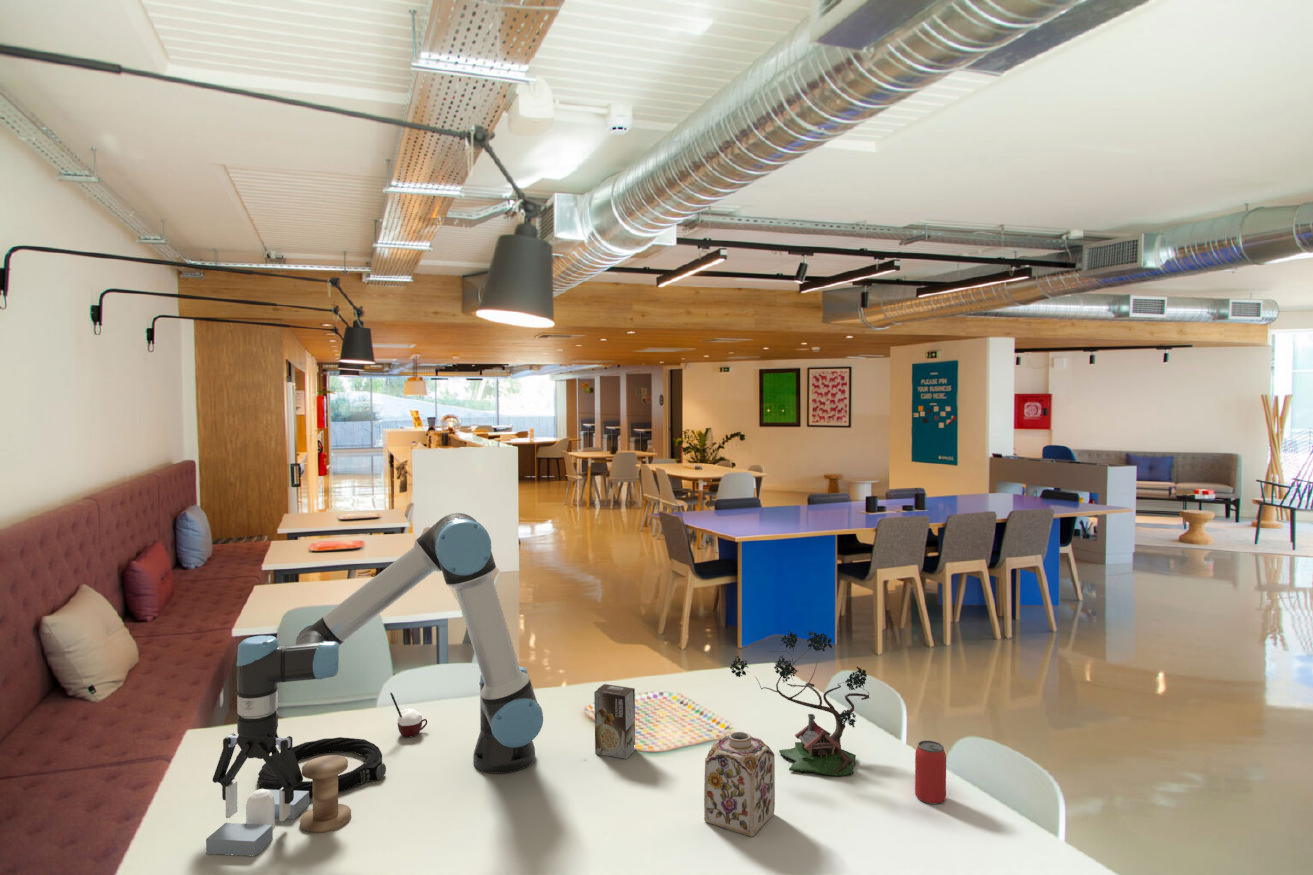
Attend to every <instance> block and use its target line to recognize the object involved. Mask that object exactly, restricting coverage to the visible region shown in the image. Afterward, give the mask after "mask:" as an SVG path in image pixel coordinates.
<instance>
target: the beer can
mask: <svg viewBox="0 0 1313 875" xmlns="http://www.w3.org/2000/svg"><path fill="white" fill-rule="evenodd" d="M914 756H915V758H914V759H915V762H914V764H915V766H914V767H915V770H914V795H915V797H916V798H917V799H918V800H919V801H921V802H923V803H926V804H931V805H939V804H943V803H944V802H945V801H946V799H947V755H946V751H945V748H944V745H943V744H941V743H940V742H937V741H934V740H921V741H918V743H917V746H916V749H915V753H914Z"/></svg>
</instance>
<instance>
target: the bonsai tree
mask: <svg viewBox="0 0 1313 875" xmlns="http://www.w3.org/2000/svg"><path fill="white" fill-rule="evenodd" d="M807 634H808V635H807V637H808V638H807V639H806V642H809V644H808V645H807V647H808V650H810V649H811V648H813V650H815V651H816V652H820V651H821V650H822V652H826V650H825V649H826V647H829V648H830V649H833V645H832V644H831V643H832V642H833V641H832V638H830V637H828V635H827V634H825V632H822V633H820V634H817V632H815V631H811V630H809V631H808V632H807ZM810 636H811V637H810ZM780 641H781V642H782V643H780V644H779V646H781V645H783V644H785V648H789V650H791V649H792V651H794V648H795V647H796V644H797V642H798V634H797V633H795V634H794V633H793V632H792V631H790V630H788V633H787V635H783V637H781V640H780ZM810 642H811V643H810ZM808 650H806V651H805V652H804V653H803V654H802V655H801V656H800V658H802V657H803V656H804V655H805V654H806V653H807V652H808ZM769 652H773V653H774V652H775V653H776V652H778V651H777V650H776V651H775V650H774V651H772V650H769ZM781 652H785V653H786V651H784V650H783V651H782V650H781ZM788 654H790V656H791V660H789V659H788V660H786V659H785V658H784V655H780V656H779V658H778V660H777V661H776V663H775V666H774V667H773V668H774V669H775V673H776V674H779V678H778V680H777V682H776V685H775V687H776V690H775V689H772V688H771V687H766V686H765V687H762V686H761V684H760V681H759V680H758V678H757V677H755V679H756V680H757V682H758V685H759V687H760V689H761V690H763V689H767V690H769V691H772V692H775V693H778V694H779V695H780V696H781V697H783V698H784V699H785V700H787V701H789V702H792V703H794V704H798V705H800V706H804V707H807V708H812V709H815V710H819V711H824V712H828V713H830V714H832V715H833V716H834V718H835V725H836V726H835V730H834V731H833V733H830V732H829V731H827V730H826V729H824V728H822V727H821V726H820V725H818V724H817V723H816V721H815V719H816V716H815V714H814V713H808V714H807V717H808V722H807V723H808V724H807V725H806V726H804V728H803V729H801V730H800V731H798V732H797V733H796V734H794V737H795V738H796V739H797V740H800V742H799V741H797V742H796V741H795V742H794V747H792V748H786V749H785V748H784V749H779V750H778V752H779V754H780V755H781V756H783V757H786V758H788V759H790V760H791V761H794V763H792V764H791V766H790V767H789V769H788V771H789V772H790V771H792V772H811V773H814V772H815V773H817V774H821V775H827V776H834V777H843V776H850V775H853V774H854V770H853V768H854V767H855V766H856V759H857V758H856V756H857V755H856V754H854V753H852V752H850V751H848V750H845V749H842V745H841V738H842V736H843V732H844V730H845V728H846V726H847V725H849V726H851V727H852V729H855V728H856V726H855V724H856V722H857V718H856V716H857V715H856V714H855V713H854V711H855V704H854V703H853V702H852V701H851V700H850V698H849V697H856V696H857V697H861V698H860V699H861V701H863V700H867V699H870V692H869V691H868V690H866V689H865V688H864V687H865V686H864V685H866V681H867V677H868V674H867V673H866V672H867V670H865V669H862V668H861V667H859V666H856V669H858V670H857V671H852V673H850V675H849V676H848V678H846V680H844V681H843V682H839V683H838V684H837V686H836V687H833V688H830V689H828V690H826V691H825V692H824V693H823V695H821V694H820V693H819V691H818V690H817V689H815V688H814V687H815V684H814V683H811V681H812V679H813V678H814V675H815V672H816V669H817V665H818V662H819V660H817V661H816V665H815V669H814V672H813V673H812V676H811V678H810V679H809V681H808V682H806V683H805V685H802V684H801V685H800V684H791V683H790V684H789V683H787V682H788V680H790V679H792V680H794V679H793V677H795V675H796V674H797V672H799V670H797V669H796V668H795V666H794V664H795V663H796V662H797V661H798V660H799V658H798V659H796V660H795V661H793V660H794V659H793V656H792V655H791V653H790V652H788ZM819 658H820V656H818V659H819ZM729 668H730V669H731V674H734V675H735V677H737V678H741V677H743V676H747V672H748V673H749V671H748V670H744V669H745V668H747V669H749V666H748V660H746V659H744V660H741V658H740V655H737V656H735V659H734V660H733V661H732V663H731V664H730V667H729ZM799 673H800V672H799ZM792 676H793V677H792ZM781 679H782V680H781ZM780 681H782V683H783V684H784V683H786V685H788V686H790V687H792V688H794V687H798V688H799V687H801V688H802V687H804V688H803V689H801V690H800V691H798V692H797V693H796V694H794V695H792V696H790V697H789V696H787V695H785V694H784V693H782V692H781V691H780V690H779V683H780ZM845 683H846V684H845ZM840 684H845V686H847V687H848V690H849V691H856V689H858V688H860V689H862V690H863V691H866V693H868V694H865V693H858V692H856V693H854V692H852V693H850V692H849V693H847V694H844V699H845V701H846V702H847V703H848V704H849V705H850V707H851V708H849V709H844V710H842V711H841V713H839V711H838V710H836V709H835V707H834V706H833V704H832V703H831V702H830V701H829V700H828V699H827V694H829V693H831V692H833V691H835V690H838V689H841V688H842V685H840ZM854 686H855V687H854ZM806 688H808V689H810V690H812V692H814V693H815V694H816V696H817V698H818V700H819V704H814V703H809V702H805V701H801V700H797V699H794V698H795V697H797V696H799V695H800V694H802V693H803V691H805V690H806ZM822 696H823V699H822ZM823 700H824V702H825V704H826V705H827V706H826V705H822V704H823ZM846 723H847V725H846Z"/></svg>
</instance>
